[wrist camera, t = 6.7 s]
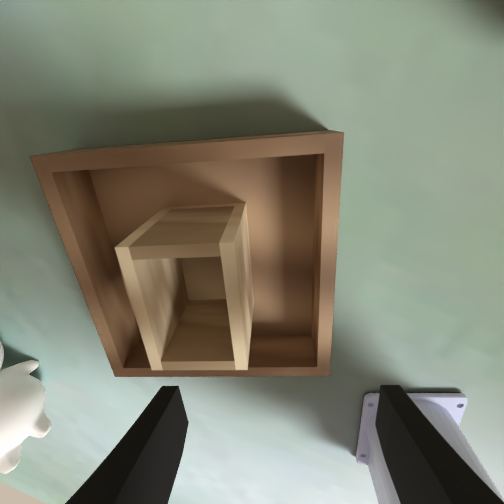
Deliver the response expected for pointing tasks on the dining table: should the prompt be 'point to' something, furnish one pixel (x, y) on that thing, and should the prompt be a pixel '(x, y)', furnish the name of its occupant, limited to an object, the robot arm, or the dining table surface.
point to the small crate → (192, 286)
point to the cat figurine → (20, 410)
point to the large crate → (205, 193)
